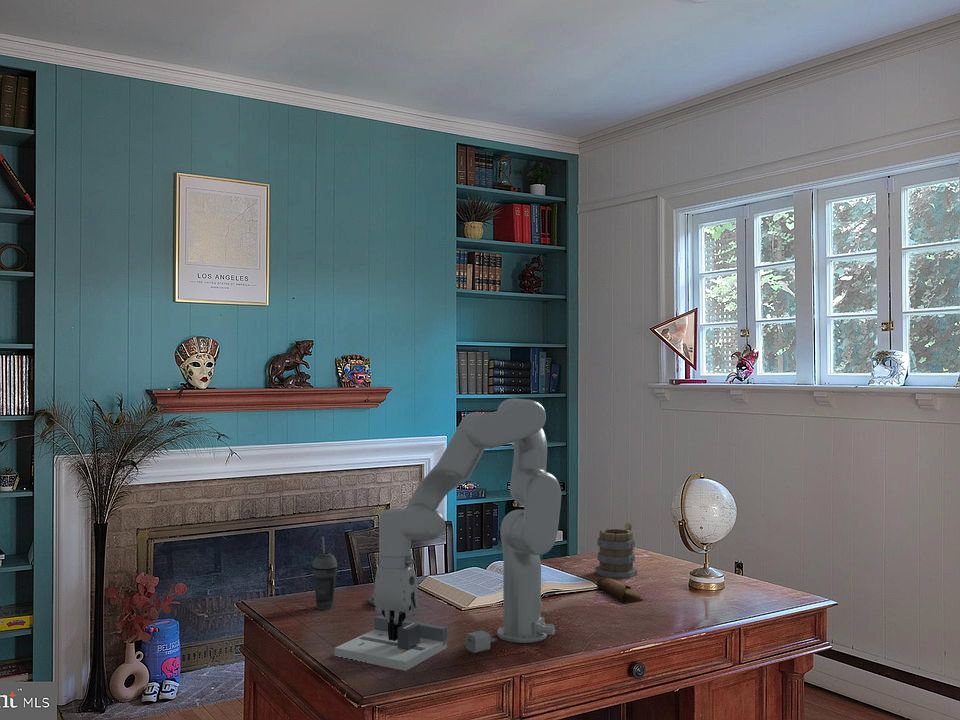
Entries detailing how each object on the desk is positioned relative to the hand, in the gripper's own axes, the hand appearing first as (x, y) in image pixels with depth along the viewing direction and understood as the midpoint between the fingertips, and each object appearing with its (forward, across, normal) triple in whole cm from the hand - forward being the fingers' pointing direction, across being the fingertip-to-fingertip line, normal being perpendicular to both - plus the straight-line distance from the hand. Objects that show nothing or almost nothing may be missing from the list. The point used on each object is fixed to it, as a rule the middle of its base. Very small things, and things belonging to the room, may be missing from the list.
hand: (395, 638), depth 201 cm
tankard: (+4, -19, -104) cm, 106 cm away
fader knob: (+1, -4, 0) cm, 4 cm away
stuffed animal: (+4, +27, -34) cm, 44 cm away
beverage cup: (+3, +39, -22) cm, 45 cm away
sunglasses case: (+4, -30, -76) cm, 82 cm away
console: (+3, +1, 0) cm, 3 cm away
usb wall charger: (+4, -17, -13) cm, 21 cm away
